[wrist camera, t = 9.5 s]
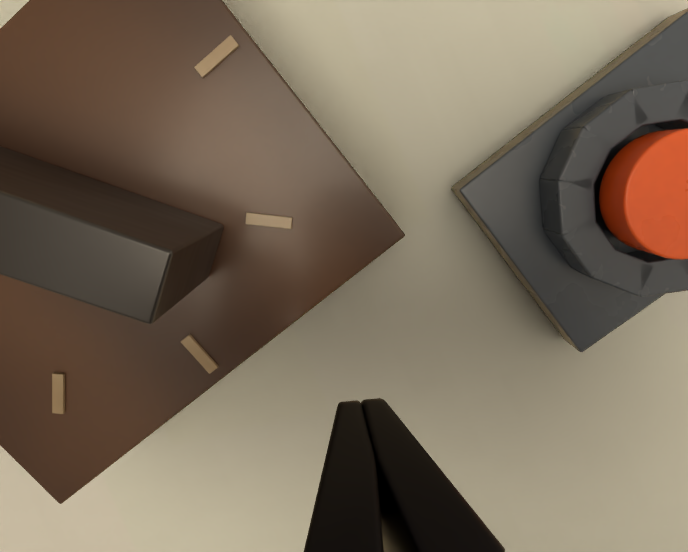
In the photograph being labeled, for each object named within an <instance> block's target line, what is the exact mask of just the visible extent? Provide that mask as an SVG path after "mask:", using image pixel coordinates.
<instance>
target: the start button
mask: <svg viewBox="0 0 688 552" xmlns="http://www.w3.org/2000/svg"><path fill="white" fill-rule="evenodd" d="M599 204H600V210H601V214H602V217H603V220H604V222H605V224H606V226H607V227H608V229H609V230H610V232H611V233H612V234H613V235H614V236H615V237H616V238H617V239H618V240H619V241H621V242H622V243H624V244H625V245H627V246H630V247H632V248H635V249H638V250H641V251H644V252H648V253H651V254H654V255H658V256H661V257H664V258H669V259H679V260H683V259H688V128H685V129H674V130H664V131H656V132H652V133H648V134H645V135H642V136H640V137H638V138H636V139H634V140H633V141H631V142H630V143H628V144H627V145H626V146H624V147H623V148H622V149H621V150H620V151H619V152H618V153H617V154H616V155H615V156H614V158H613V159H612V161H611V162H610V163H609V165H608V167H607V169H606V171H605V173H604V176H603V178H602V182H601V185H600V192H599Z"/></svg>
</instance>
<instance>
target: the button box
mask: <svg viewBox="0 0 688 552" xmlns="http://www.w3.org/2000/svg"><path fill="white" fill-rule="evenodd" d="M685 128H688V8H687V9H685V10H683V11H681V12H679V13H676V14H674V15H672V16H670V17H668V18H667V19H665V20H664V21H663V22H662V23H660V24H659V25H658V26H657V27H655V28H654V29H653V30H651V31H650V32H649V33H648V34H646V35H645V36H644V37H642V38H641V39H640V40H639V41H637V42H636V43H635V44H634V45H632V46H631V47H630V48H628V49H627V50H626V51H625V52H623V53H622V54H621V55H619V56H618V57H617V58H616V59H614V60H613V61H612V62H611V63H609V64H608V65H607V66H605V67H604V68H603V69H602V70H600V71H599V72H598V73H597V74H595V75H594V76H593V77H591V78H590V79H589V80H588V81H586V82H585V83H584V84H582V85H581V86H580V87H579V88H577V89H576V90H575V91H574V92H572V93H571V94H570V95H568V96H567V97H566V98H565V99H563V100H562V101H561V102H559V103H558V104H557V105H556V106H554V107H553V108H552V109H551V110H549V111H548V112H547V113H545V114H544V115H543V116H542V117H540V118H539V119H538V120H537V121H535V122H534V123H533V124H531V125H530V126H529V127H528V128H526V129H525V130H524V131H522V132H521V133H520V134H519V135H517V136H516V137H515V138H514V139H512V140H511V141H510V142H508V143H507V144H506V145H505V146H503V147H502V148H501V149H500V150H498V151H497V152H496V153H494V154H493V155H492V156H491V157H489V158H488V159H487V160H485V161H484V162H483V163H482V164H480V165H479V166H478V167H477V168H475V169H474V170H473V171H471V172H470V173H469V174H468V175H466V176H465V177H464V178H462V179H461V180H460V181H459V182H457V183H456V184H455V185H454V186H452V188H451V189H452V191H453V192H454V193H455V195H456V196H457V197H458V199H459V200H460V201H461V203H462V204H463V205H464V207H465V208H466V209H467V211H468V212H469V213H470V215H471V216H472V217H473V219H474V220H475V221H476V223H477V224H478V225H479V227H480V228H481V229H482V231H483V232H484V233H485V235H486V236H487V237H488V239H489V240H490V241H491V243H492V244H493V245H494V247H495V248H496V249H497V251H498V252H499V253H500V255H501V256H502V257H503V259H504V260H505V261H506V263H507V264H508V265H509V267H510V268H511V269H512V271H513V272H514V273H515V275H516V276H517V277H518V279H519V280H520V281H521V282H522V284H523V285H524V286H525V288H526V289H527V290H528V292H529V293H530V294H531V296H532V297H533V298H534V300H535V301H536V302H537V304H538V305H539V306H540V308H541V309H542V310H543V312H544V313H545V314H546V316H547V317H548V318H549V320H550V321H551V322H552V324H553V325H554V326H555V328H556V329H557V330H558V332H559V333H560V334H561V336H562V337H563V338H564V339H565V340H566V341H567V342H568V343H570V344H571V345H572V346H573V347H574V348H576V349H577V350H578V351H579V352H583V351H584V350H586V349H587V348H589V347H590V346H592V345H593V344H594V343H596V342H597V341H599V340H600V339H602V338H603V337H604V336H606V335H607V334H609V333H610V332H611V331H613V330H614V329H616V328H617V327H619V326H620V325H621V324H623V323H624V322H626V321H627V320H629V319H630V318H631V317H633V316H634V315H636V314H637V313H638V312H640V311H641V310H643V309H644V308H646V307H647V306H648V305H650V304H651V303H653V302H654V301H656V300H657V299H658V298H660V297H661V296H663V295H664V294H666V293H672V292H679V291H686V290H688V259H683V260H679V259H669V258H664V257H661V256H658V255H654V254H651V253H648V252H644V251H641V250H638V249H635V248H632V247H630V246H627V245H625V244H624V243H622V242H621V241H619V240H618V239H617V238H616V237H615V236H614V235H613V234H612V233H611V232H610V230H609V229H608V227H607V226H606V224H605V222H604V220H603V217H602V214H601V210H600V204H599V192H600V185H601V182H602V178H603V176H604V173H605V171H606V169H607V167H608V165H609V163H610V162H611V161H612V159H613V158H614V156H615V155H616V154H617V153H618V152H619V151H620V150H621V149H622V148H623V147H624V146H626V145H627V144H628V143H630V142H631V141H633V140H634V139H636V138H638V137H640V136H642V135H645V134H648V133H652V132H656V131H664V130H674V129H685Z"/></svg>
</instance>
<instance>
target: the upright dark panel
mask: <svg viewBox="0 0 688 552" xmlns="http://www.w3.org/2000/svg"><path fill="white" fill-rule="evenodd" d="M223 229H224V226H223V225H222V224H220V223H217V222H215V221H212V220H209V219H206V218H203V217H200V216H197V215H195V214H192V213H189V212H186V211H183V210H180V209H178V208H175V207H172V206H169V205H166V204H163V203H160V202H158V201H155V200H152V199H149V198H146V197H143V196H141V195H138V194H135V193H132V192H129V191H126V190H123V189H121V188H118V187H115V186H112V185H109V184H106V183H104V182H101V181H98V180H95V179H92V178H89V177H86V176H84V175H81V174H78V173H75V172H72V171H69V170H66V169H64V168H61V167H58V166H55V165H52V164H49V163H47V162H44V161H41V160H38V159H35V158H32V157H29V156H27V155H24V154H21V153H18V152H15V151H12V150H10V149H7V148H4V147H1V146H0V274H1V275H4V276H7V277H10V278H13V279H16V280H19V281H22V282H25V283H28V284H31V285H34V286H37V287H40V288H43V289H46V290H49V291H52V292H55V293H58V294H60V295H63V296H66V297H69V298H72V299H75V300H78V301H81V302H84V303H87V304H90V305H93V306H96V307H99V308H102V309H105V310H108V311H111V312H114V313H117V314H120V315H123V316H126V317H129V318H132V319H135V320H138V321H141V322H144V323H147V324H153V323H154V322H155V321H156V320H157V319H159V318H160V317H161V316H162V315H163V314H165V313H166V312H167V311H168V310H169V309H171V308H172V307H173V306H174V305H176V304H177V303H178V302H179V301H180V300H182V299H183V298H184V297H185V296H186V295H188V294H189V293H190V292H191V291H192V290H194V289H195V288H196V287H197V286H199V285H200V284H201V283H202V282H203V281H205V280H206V279H207V278H208V277H209V274H210V271H211V268H212V264H213V261H214V258H215V255H216V251H217V248H218V245H219V242H220V239H221V235H222V232H223Z"/></svg>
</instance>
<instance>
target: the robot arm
mask: <svg viewBox="0 0 688 552" xmlns="http://www.w3.org/2000/svg"><path fill="white" fill-rule="evenodd" d="M304 552H505V549H504V547H503V546H502V545H501V544H500V543H499V541H498V540H497V539H496V538H495V536H494V535H493V534H492V533H491V531H490V530H489V529H488V528H487V526H486V525H485V524H484V523H483V521H482V520H481V519H480V518H479V517H478V515H477V514H476V513H475V512H474V510H473V509H472V508H471V507H470V505H469V504H468V503H467V502H466V500H465V499H464V498H463V497H462V495H461V494H460V493H459V492H458V490H457V489H456V488H455V487H454V486H453V484H452V483H451V482H450V481H449V479H448V478H447V477H446V476H445V474H444V473H443V472H442V471H441V469H440V468H439V467H438V466H437V464H436V463H435V462H434V461H433V460H432V458H431V457H430V456H429V455H428V453H427V452H426V451H425V450H424V448H423V447H422V446H421V445H420V443H419V442H418V441H417V440H416V438H415V437H414V436H413V435H412V434H411V432H410V431H409V430H408V429H407V427H406V426H405V425H404V424H403V422H402V421H401V420H400V419H399V417H398V416H397V415H396V414H395V412H394V411H393V410H392V409H391V407H390V406H389V405H388V404H387V403H386V401H385V400H383V399H381V398H378V399H367V400H363V401H362V402H361V403H360V402H359V401H346V402H340V403H339V404H338V407H337V411H336V415H335V419H334V423H333V428H332V432H331V436H330V441H329V445H328V449H327V454H326V458H325V462H324V467H323V471H322V475H321V480H320V484H319V488H318V492H317V497H316V501H315V505H314V510H313V514H312V518H311V523H310V527H309V531H308V536H307V540H306V544H305V549H304Z"/></svg>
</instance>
